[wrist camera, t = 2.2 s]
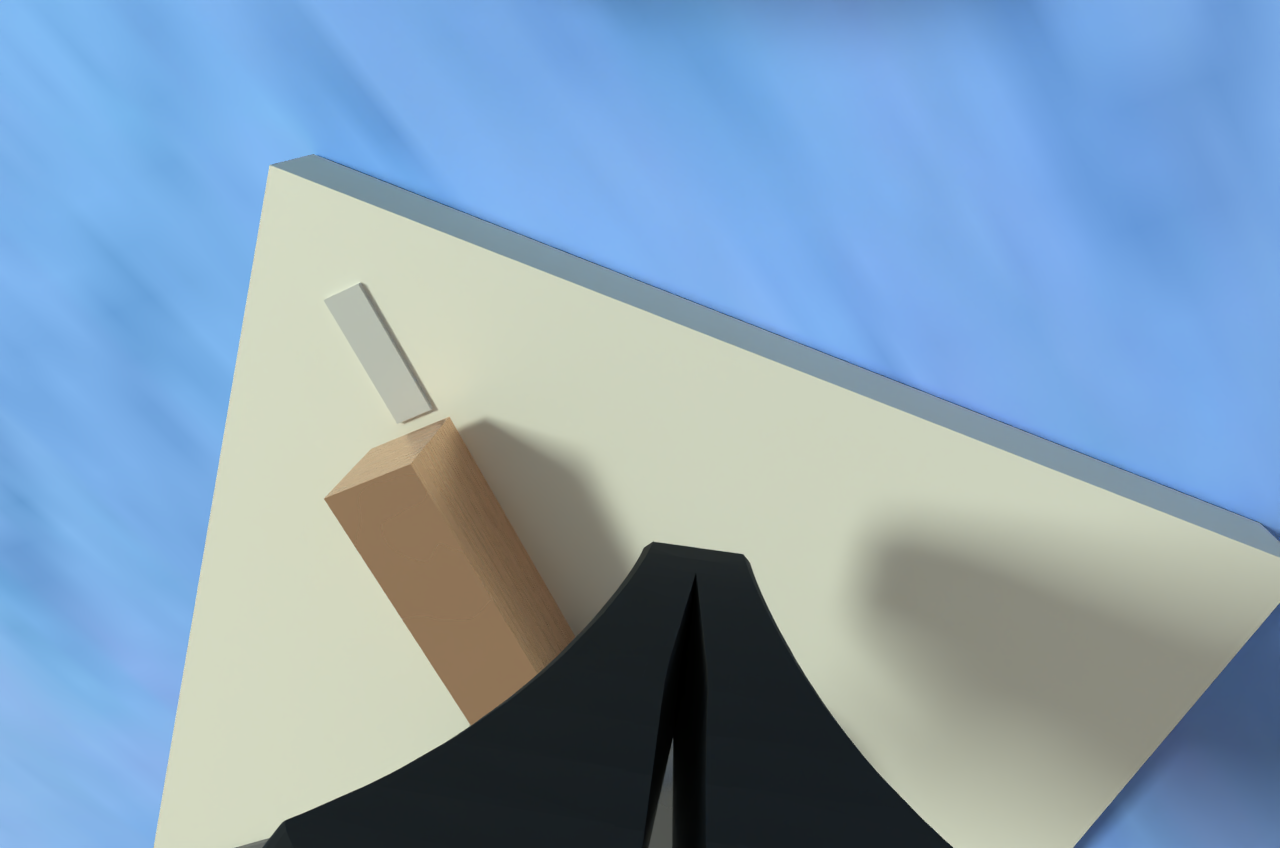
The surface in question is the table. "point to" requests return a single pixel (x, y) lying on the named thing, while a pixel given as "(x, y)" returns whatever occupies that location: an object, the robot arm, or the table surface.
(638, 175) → the table surface
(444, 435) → the twist handle
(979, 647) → the base
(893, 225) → the table surface
